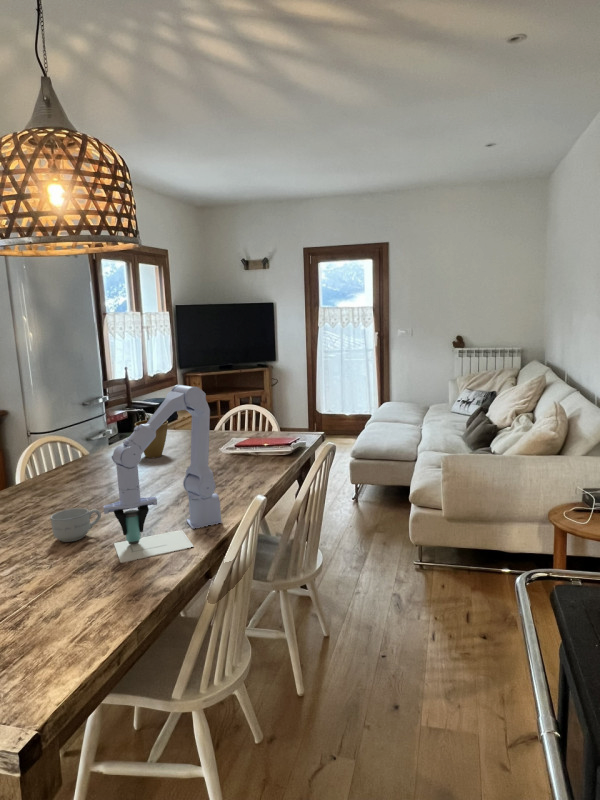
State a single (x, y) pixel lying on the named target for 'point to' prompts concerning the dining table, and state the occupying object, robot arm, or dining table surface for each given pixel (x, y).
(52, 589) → the dining table surface
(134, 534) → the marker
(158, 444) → the plant pot
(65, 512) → the teacup
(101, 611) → the dining table surface
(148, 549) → the paper pad
